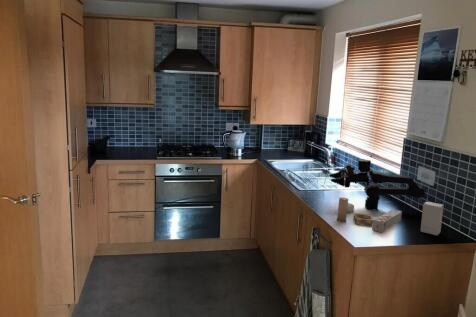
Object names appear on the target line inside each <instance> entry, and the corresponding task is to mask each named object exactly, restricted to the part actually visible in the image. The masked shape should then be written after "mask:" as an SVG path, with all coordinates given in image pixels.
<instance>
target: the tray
mask: <svg viewBox="0 0 476 317" xmlns="http://www.w3.org/2000/svg"><path fill="white" fill-rule="evenodd" d="M353 213H354V212H353ZM373 220H374V219H373V217H372V215H371V214H365V213H354V214H353V221H354V225H355V224H356V225H361V226H368V225H369V227H370V226H371V227H372V226H373Z"/></svg>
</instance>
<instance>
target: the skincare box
mask: <svg viewBox="0 0 476 317" xmlns="http://www.w3.org/2000/svg"><path fill="white" fill-rule="evenodd" d="M421 213H422V214H421V222H420V232H422V233H426V234H429V235H433V236H439V234H440V233H441V229H442V223H443V222H442V221H443V213H444V204H443V203H442V204H441V203H438V202H437V203H435V202H430V201H426V202H424V203H423V204H422V212H421Z"/></svg>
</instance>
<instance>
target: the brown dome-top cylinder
mask: <svg viewBox="0 0 476 317" xmlns="http://www.w3.org/2000/svg"><path fill="white" fill-rule="evenodd" d="M348 203H349V198H348V197H339V198H338V207H337V216H336V217H337V218H336V221H337V222H338V221H339V222H338V223H346V221H347V214H348V213H347V207H348Z"/></svg>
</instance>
